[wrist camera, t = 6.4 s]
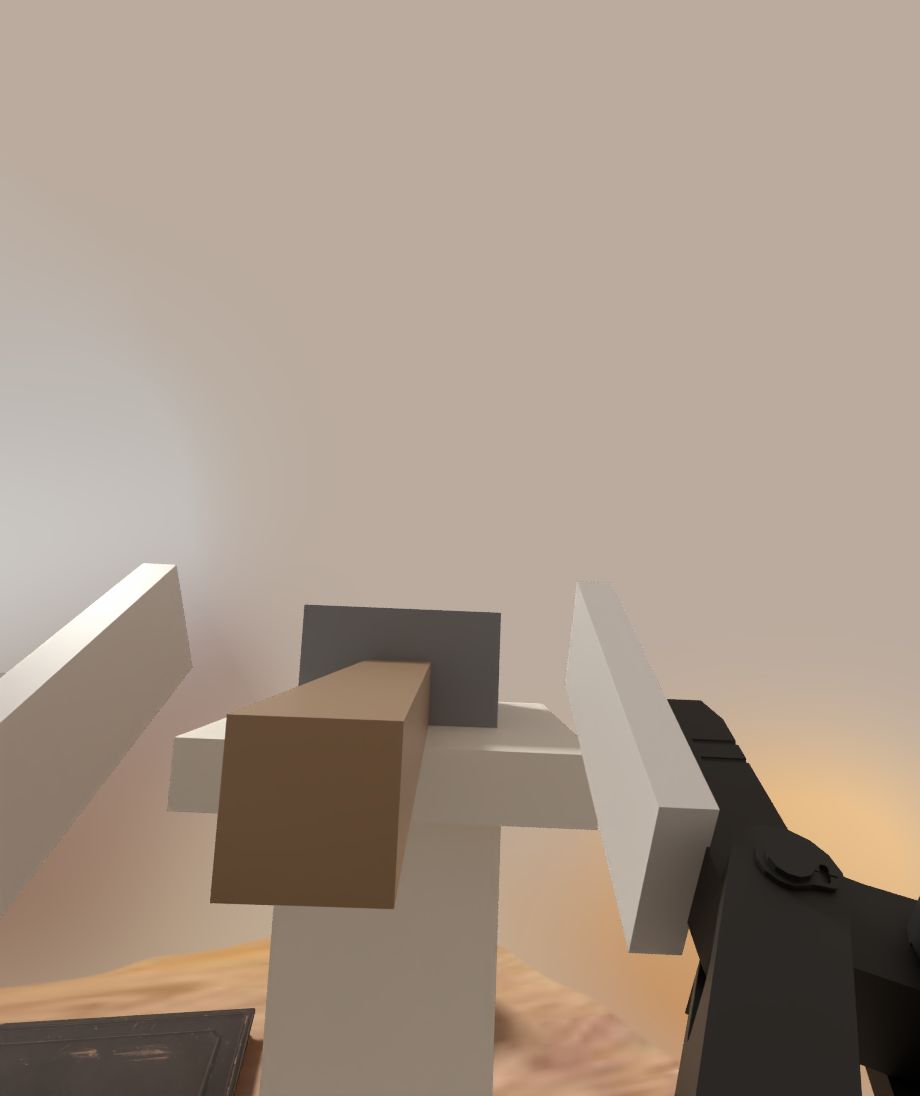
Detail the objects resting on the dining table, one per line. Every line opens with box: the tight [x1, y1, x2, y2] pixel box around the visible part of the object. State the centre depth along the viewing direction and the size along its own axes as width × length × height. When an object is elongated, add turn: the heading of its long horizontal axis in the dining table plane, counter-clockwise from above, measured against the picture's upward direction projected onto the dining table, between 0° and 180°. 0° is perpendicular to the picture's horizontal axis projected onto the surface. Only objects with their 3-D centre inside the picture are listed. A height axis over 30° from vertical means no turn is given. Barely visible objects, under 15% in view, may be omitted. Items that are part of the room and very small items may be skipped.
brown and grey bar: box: [210, 605, 501, 909], centre depth 18 cm, size 22×7×4 cm, turn 1°
